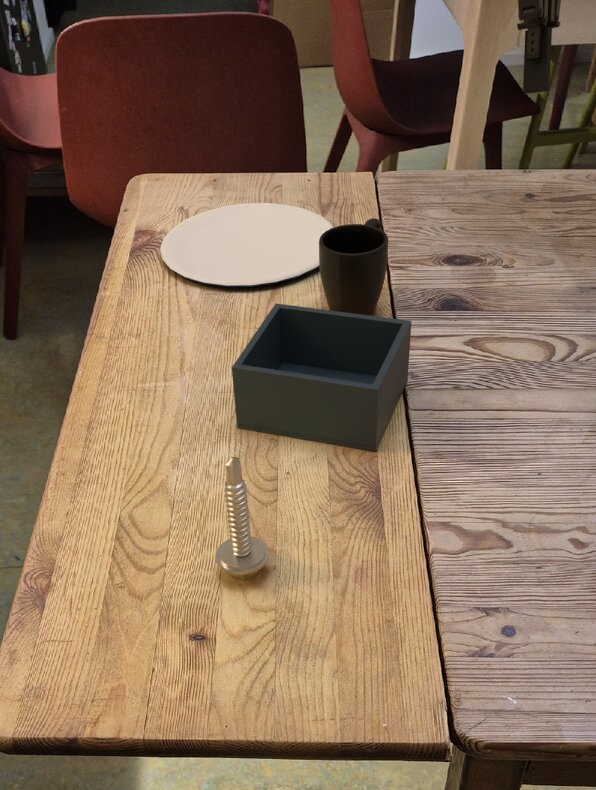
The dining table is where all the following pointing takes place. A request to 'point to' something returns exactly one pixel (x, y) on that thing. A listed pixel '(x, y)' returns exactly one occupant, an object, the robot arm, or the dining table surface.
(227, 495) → the screw
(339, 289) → the mug
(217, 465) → the dining table surface
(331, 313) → the box
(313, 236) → the plate
